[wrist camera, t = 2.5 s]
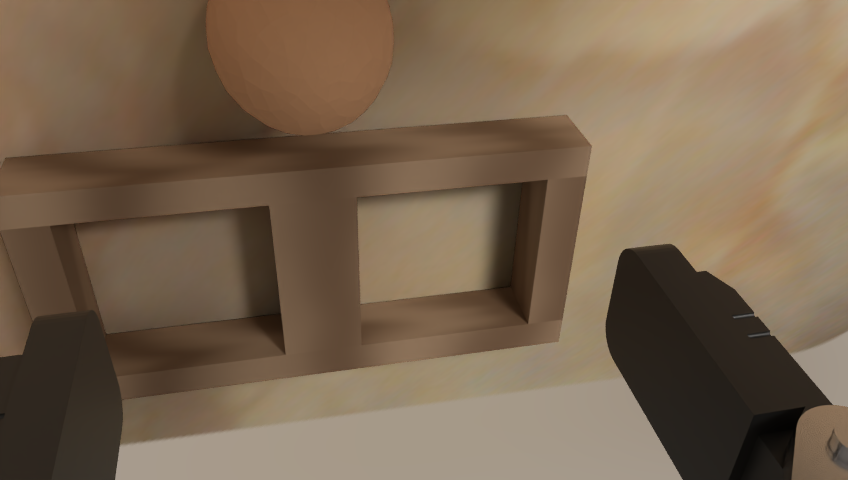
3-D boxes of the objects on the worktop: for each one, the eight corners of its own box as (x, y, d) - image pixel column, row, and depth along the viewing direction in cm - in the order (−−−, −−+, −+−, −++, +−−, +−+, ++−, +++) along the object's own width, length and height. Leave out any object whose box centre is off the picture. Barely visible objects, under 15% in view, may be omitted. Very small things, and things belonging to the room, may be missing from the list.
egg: (387, 41, 26) (439, 153, 20) (241, 84, 26) (247, 210, 20) (347, -117, 23) (393, -44, 17) (181, -71, 23) (165, 21, 17)
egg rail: (74, 361, 31) (63, 407, 29) (5, 157, 26) (-13, 197, 24) (539, 304, 35) (558, 341, 33) (566, 115, 29) (591, 146, 27)
